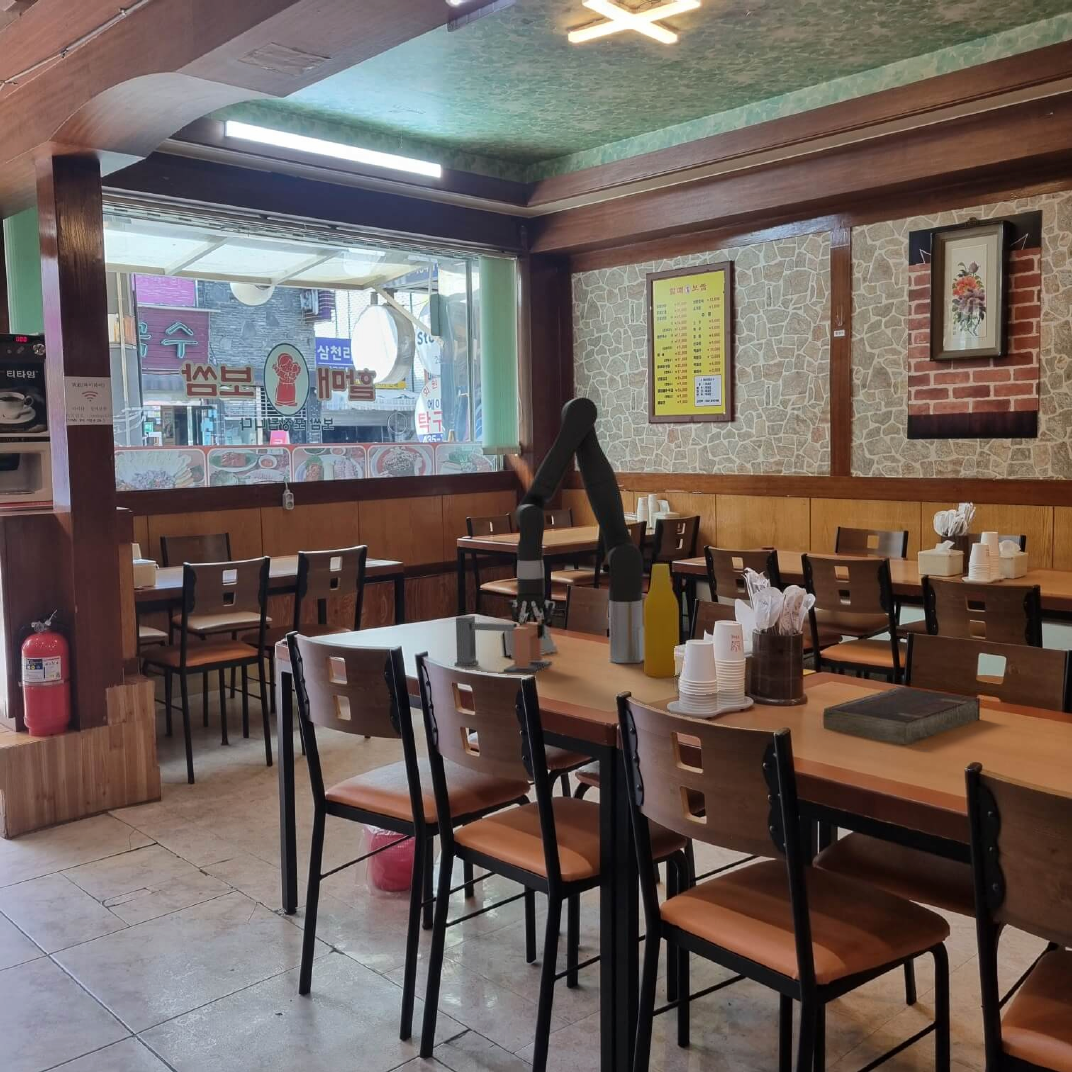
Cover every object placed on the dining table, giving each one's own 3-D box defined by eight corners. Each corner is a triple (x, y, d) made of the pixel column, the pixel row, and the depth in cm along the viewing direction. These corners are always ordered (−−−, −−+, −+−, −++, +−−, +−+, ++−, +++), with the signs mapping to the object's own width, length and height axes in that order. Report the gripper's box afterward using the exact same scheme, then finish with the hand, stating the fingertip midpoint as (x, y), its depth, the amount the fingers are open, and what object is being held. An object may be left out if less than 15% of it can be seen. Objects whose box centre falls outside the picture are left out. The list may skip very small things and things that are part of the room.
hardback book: (898, 706, 235) (899, 684, 235) (979, 721, 221) (979, 698, 220) (823, 730, 217) (823, 706, 216) (905, 748, 202) (906, 722, 202)
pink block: (542, 659, 290) (541, 622, 290) (528, 667, 280) (527, 628, 279) (528, 659, 292) (527, 622, 291) (514, 666, 282) (513, 628, 281)
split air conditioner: (511, 659, 299) (504, 625, 301) (503, 662, 303) (496, 628, 305) (558, 651, 309) (551, 619, 311) (549, 655, 313) (542, 622, 315)
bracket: (519, 665, 290) (518, 617, 289) (513, 668, 285) (511, 619, 284) (462, 662, 296) (460, 615, 295) (454, 665, 291) (453, 617, 290)
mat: (552, 663, 291) (552, 661, 291) (534, 673, 278) (534, 671, 278) (522, 662, 294) (522, 660, 294) (503, 671, 281) (503, 669, 281)
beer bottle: (678, 678, 268) (677, 566, 266) (642, 677, 270) (640, 566, 267) (680, 671, 277) (679, 562, 275) (646, 670, 279) (644, 562, 276)
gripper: (559, 575, 289) (560, 636, 290) (511, 574, 294) (513, 634, 295) (550, 578, 282) (552, 641, 283) (501, 577, 287) (503, 639, 288)
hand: (532, 637), depth 289 cm, fingers closed on pink block, 4 cm apart
